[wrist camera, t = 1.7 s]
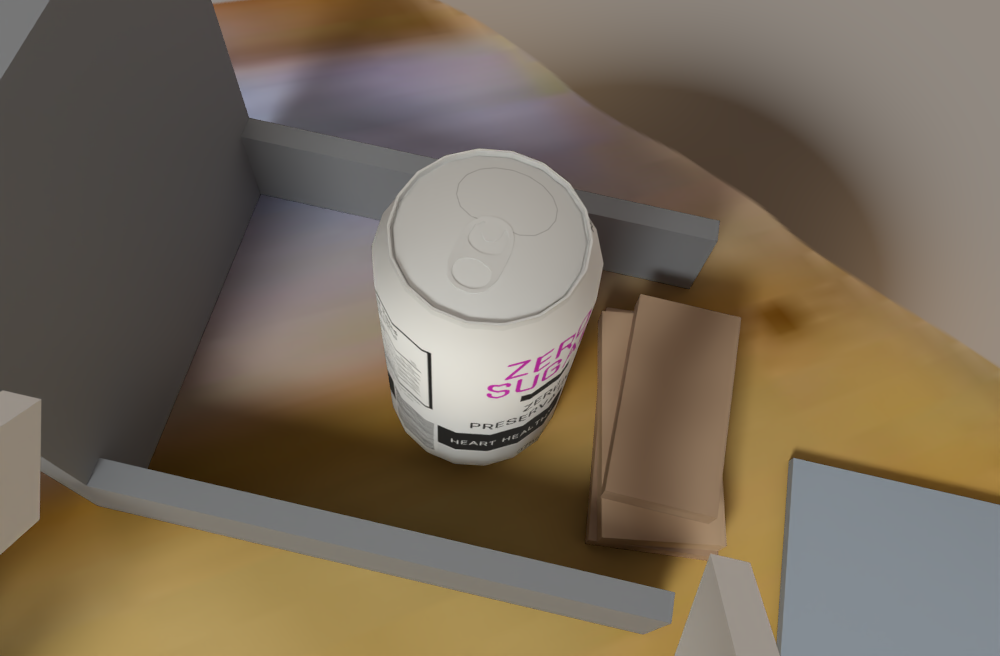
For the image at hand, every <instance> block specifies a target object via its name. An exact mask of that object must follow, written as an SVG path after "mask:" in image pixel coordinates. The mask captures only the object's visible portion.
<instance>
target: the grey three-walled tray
mask: <svg viewBox="0 0 1000 656" xmlns="http://www.w3.org/2000/svg"><path fill="white" fill-rule="evenodd" d="M437 160H438V159H435V158H430V157H426V156H421V155H416V154H412V153H407V152H403V151H398V150H394V149H389V148H384V147H380V146H375V145H371V144H366V143H362V142H357V141H352V140H348V139H343V138H339V137H334V136H330V135H325V134H320V133H316V132H311V131H307V130H302V129H298V128H293V127H288V126H284V125H279V124H275V123H270V122H266V121H261V120H256V119H252V118H249V116H248V113H247V110H246V107H245V104H244V101H243V98H242V95H241V91H240V88H239V85H238V82H237V79H236V76H235V73H234V70H233V67H232V63H231V60H230V57H229V54H228V51H227V48H226V45H225V42H224V39H223V35H222V32H221V29H220V26H219V23H218V20H217V17H216V14H215V11H214V8H213V4H212V1H211V0H0V392H1V391H8V392H12V393H16V394H21V395H25V396H29V397H34V398H38V399H41V460H40V471H41V472H43V473H45V474H46V475H48V476H49V477H51V478H53V479H54V480H56V481H58V482H59V483H61V484H63V485H64V486H66V487H68V488H69V489H71V490H73V491H74V492H76V493H78V494H79V495H81V496H82V497H84V498H86V499H87V500H89V501H91V502H92V503H94V504H96V505H97V506H101V507H106V508H110V509H114V510H118V511H122V512H127V513H131V514H135V515H139V516H144V517H148V518H152V519H156V520H161V521H165V522H169V523H173V524H178V525H182V526H186V527H190V528H195V529H199V530H203V531H207V532H211V533H216V534H220V535H224V536H228V537H233V538H237V539H241V540H245V541H250V542H254V543H258V544H262V545H267V546H271V547H275V548H279V549H283V550H288V551H292V552H296V553H300V554H305V555H309V556H313V557H317V558H322V559H326V560H330V561H334V562H339V563H343V564H347V565H351V566H356V567H360V568H364V569H368V570H372V571H377V572H381V573H385V574H389V575H394V576H398V577H402V578H406V579H411V580H415V581H419V582H423V583H428V584H432V585H436V586H440V587H445V588H449V589H453V590H457V591H461V592H466V593H470V594H474V595H478V596H483V597H487V598H491V599H495V600H500V601H504V602H508V603H512V604H517V605H521V606H525V607H529V608H533V609H538V610H542V611H546V612H550V613H555V614H559V615H563V616H567V617H572V618H576V619H580V620H584V621H589V622H593V623H597V624H601V625H606V626H610V627H614V628H618V629H622V630H627V631H631V632H635V633H639V634H645V633H648V632H651V631H653V630H656V629H658V628H661V627H663V626H666V625H668V624H671V621H672V613H673V605H674V597H675V592H671V591H667V590H662V589H658V588H654V587H650V586H645V585H641V584H637V583H633V582H628V581H624V580H620V579H615V578H611V577H607V576H603V575H598V574H594V573H590V572H586V571H581V570H577V569H573V568H568V567H564V566H560V565H556V564H551V563H547V562H543V561H539V560H534V559H530V558H526V557H521V556H517V555H513V554H509V553H504V552H500V551H496V550H492V549H487V548H483V547H479V546H474V545H470V544H466V543H462V542H457V541H453V540H449V539H445V538H440V537H436V536H432V535H427V534H423V533H419V532H415V531H410V530H406V529H402V528H398V527H393V526H389V525H385V524H380V523H376V522H372V521H368V520H363V519H359V518H355V517H351V516H346V515H342V514H338V513H333V512H329V511H325V510H321V509H316V508H312V507H308V506H304V505H299V504H295V503H291V502H286V501H282V500H278V499H274V498H269V497H265V496H261V495H257V494H252V493H248V492H244V491H239V490H235V489H231V488H227V487H222V486H218V485H214V484H210V483H205V482H201V481H197V480H192V479H188V478H184V477H180V476H175V475H171V474H167V473H163V472H158V471H154V470H150V469H147V468H148V466H149V463H150V461H151V458H152V456H153V453H154V451H155V449H156V446H157V444H158V441H159V439H160V436H161V434H162V432H163V429H164V427H165V424H166V422H167V420H168V417H169V415H170V412H171V410H172V407H173V405H174V403H175V400H176V398H177V395H178V393H179V390H180V388H181V386H182V383H183V381H184V378H185V376H186V373H187V371H188V369H189V366H190V364H191V361H192V359H193V356H194V354H195V352H196V349H197V347H198V344H199V342H200V340H201V337H202V335H203V332H204V330H205V327H206V325H207V323H208V320H209V318H210V315H211V313H212V310H213V308H214V306H215V303H216V301H217V298H218V296H219V293H220V291H221V289H222V286H223V284H224V281H225V279H226V277H227V274H228V272H229V269H230V267H231V264H232V262H233V260H234V257H235V255H236V252H237V250H238V247H239V245H240V243H241V240H242V238H243V235H244V233H245V230H246V228H247V226H248V223H249V221H250V218H251V216H252V214H253V211H254V209H255V206H256V204H257V201H258V199H259V197H260V194H263V195H268V196H272V197H277V198H282V199H286V200H291V201H295V202H300V203H304V204H309V205H313V206H318V207H322V208H327V209H331V210H336V211H340V212H345V213H349V214H354V215H358V216H363V217H367V218H372V219H376V220H381V217H382V214H383V213H384V211H385V210H386V209H387V208H388V207H389V206H390V204H391V203H392V202H393V201H394V200H395V199H396V196H397V195H398V193H399V192H400V191H401V190H402V189H403V188H404V186H405V185H406V184H407V183H408V182H409V181H410V179H411V178H412V177H413V176H414V175H415V174H416V172H417V171H419V170H421V169H423V168H424V167H426V166H428V165H430V164H431V163H433V162H435V161H437ZM574 190H575V192H576V194H577V195H578V197H579V198H580V200H581V201H582V203H583V204H584V206H585V207H586V209H587V212H588V217H589V218H590V220H591V222H592V223H593V225H594V226H595V228H596V229H597V234H598V239H599V244H600V249H601V253H602V258H603V263H604V264H603V269H602V270H606V271H611V272H615V273H620V274H624V275H629V276H633V277H638V278H642V279H647V280H651V281H656V282H660V283H665V284H669V285H674V286H678V287H683V288H687V289H690V287H691V286H692V284H693V282H694V280H695V279H696V277H697V275H698V274H699V272H700V270H701V268H702V267H703V265H704V263H705V262H706V260H707V258H708V256H709V255H710V253H711V251H712V250H713V248H714V246H715V245H716V243H717V240H718V232H719V224H720V221H718V220H713V219H709V218H704V217H700V216H695V215H691V214H686V213H681V212H677V211H672V210H668V209H663V208H659V207H654V206H649V205H645V204H640V203H636V202H631V201H627V200H622V199H617V198H613V197H608V196H604V195H599V194H595V193H590V192H585V191H581V190H576V189H574Z"/></svg>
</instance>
